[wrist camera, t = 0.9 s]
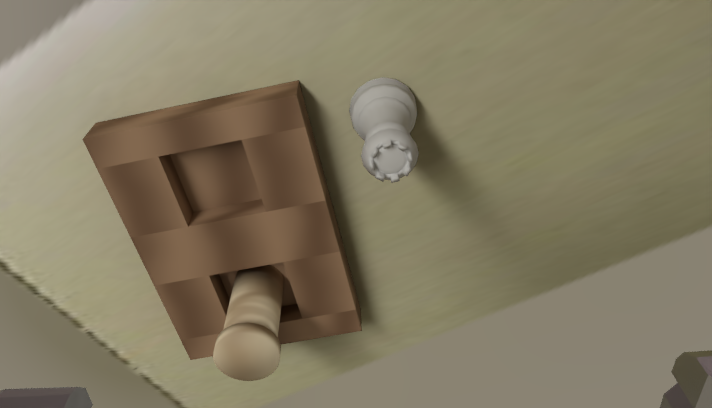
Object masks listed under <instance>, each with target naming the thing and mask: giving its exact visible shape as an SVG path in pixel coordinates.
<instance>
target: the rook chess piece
mask: <svg viewBox="0 0 712 408" xmlns="http://www.w3.org/2000/svg"><path fill="white" fill-rule="evenodd" d="M349 112H350V116H351V120H352V124H353V128H354V129H355V130H356V132H357V133H358V134H359V135H360V137H361V138H362V139H363V140H365V143H364V146H363V150H362V155H361V157H362V161H363V165H364V167H365V168H366V169H367V171H368V172H369V173H370V174H371V175H373V176H375V178H377V179H379V180H381V181H382V182H383V180H384V179H385V180H391V183H392V182H397V181H400V180H399V178H401V177H403V176H405V175H406V176H408V174H409V173H410V172H411V170H412V169H413V168H414V166H415V165H416V163H417V159H418V155H419V153H418V148H417V144H416V143H415V141H414V140H413V139H412V137H411V135H410V132H411V130H412V129H413V128H414V126H415V121H416V117H417V106H416V101H415V96H414V95H413V94H412V92H411V91H410V89H409V88H408V86H406V85H405V84H403V83H401V82H400V81H398V80H396V79H390V78H383V77H382V78H378V79H374V80H369V81H368V82H367V83H365V84H364V85H362V86H361V87H359V88H358V90H357V91H356V93H355V94H354V96H353V97H352V99H351V104H350V110H349Z"/></svg>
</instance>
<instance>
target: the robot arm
mask: <svg viewBox="0 0 712 408" xmlns="http://www.w3.org/2000/svg"><path fill="white" fill-rule="evenodd" d="M672 374H673V375H674V377H675V378H676V380H677V382H678V383H677V384H676V385H675V386H673V387H672V388H671V389H670V390H668V391H667V392H666V393H665V394H664V395H663V399H662V402H661V406H660V408H712V351H699V352H684V353H682V354H681V355H680V356H679V357H678V358H677V359H676V361H675V364H674V367H673V369H672ZM92 405H93V404H92V402H91V400H90V397H89V395H88V393H87V390H86V388H81V387H60V388H28V389H27V388H25V389H5V390H0V408H91V407H92Z"/></svg>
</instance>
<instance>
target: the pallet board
mask: <svg viewBox="0 0 712 408" xmlns="http://www.w3.org/2000/svg"><path fill="white" fill-rule="evenodd" d="M83 141H84V143H85V145H86V147H87V149H88V151H89V153H90V155H91V157H92V159H93V161H94V163H95V166H96V168H97V170H98V172H99V174H100V176H101V178H102V180H103V182H104V184H105V186H106V188H107V190H108V192H109V194H110V196H111V198H112V200H113V202H114V204H115V206H116V208H117V210H118V213H119V215H120V217H121V219H122V221H123V223H124V225H125V227H126V229H127V231H128V233H129V235H130V237H131V239H132V241H133V243H134V245H135V247H136V249H137V251H138V253H139V255H140V257H141V259H142V262H143V264H144V266H145V268H146V270H147V272H148V274H149V276H150V278H151V280H152V282H153V284H154V286H155V288H156V290H157V292H158V294H159V296H160V298H161V300H162V302H163V304H164V306H165V308H166V311H167V313H168V315H169V317H170V319H171V321H172V323H173V325H174V327H175V329H176V331H177V333H178V335H179V337H180V339H181V341H182V343H183V345H184V347H185V349H186V351H187V353H188V355H189V358H190V360H193V359H198V358H204V357H210V356H213V359H214V362H215V364H216V366H217V367H218V369H219V370H220V371H221V372H223V373H224V374H226V375H227V376H229V377H231V378H234V379H238V380H243V381H253V380H259V379H263V378H265V377H267V376H269V375H270V374H272V373H273V372H274V371H275V370H276V368H277V367H278V365H279V360H280V351H281V345H280V344H286V343H292V342H298V341H303V340H309V339H315V338H321V337H327V336H333V335H339V334H344V333H350V332H356V331H362V328H361V308H360V305H359V301H358V297H357V294H356V290H355V286H354V283H353V279H352V275H351V272H350V268H349V264H348V260H347V257H346V253H345V249H344V246H343V242H342V238H341V235H340V231H339V227H338V224H337V220H336V216H335V213H334V209H333V205H332V202H331V198H330V194H329V190H328V187H327V183H326V179H325V176H324V172H323V168H322V165H321V161H320V157H319V154H318V150H317V146H316V143H315V139H314V135H313V132H312V128H311V124H310V121H309V117H308V113H307V109H306V106H305V102H304V98H303V95H302V91H301V87H300V84H299V80H298V81H293V82H288V83H284V84H279V85H274V86H269V87H265V88H260V89H255V90H250V91H246V92H241V93H236V94H231V95H227V96H222V97H217V98H212V99H208V100H203V101H198V102H193V103H189V104H184V105H179V106H174V107H170V108H165V109H160V110H155V111H151V112H146V113H141V114H136V115H131V116H127V117H122V118H117V119H112V120H108V121H103V122H98V123H95V125H94V126H93V127H92V128H91V130H90V131H89V132H88V133H87V135H86V136H85V137H84V138H83Z"/></svg>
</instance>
